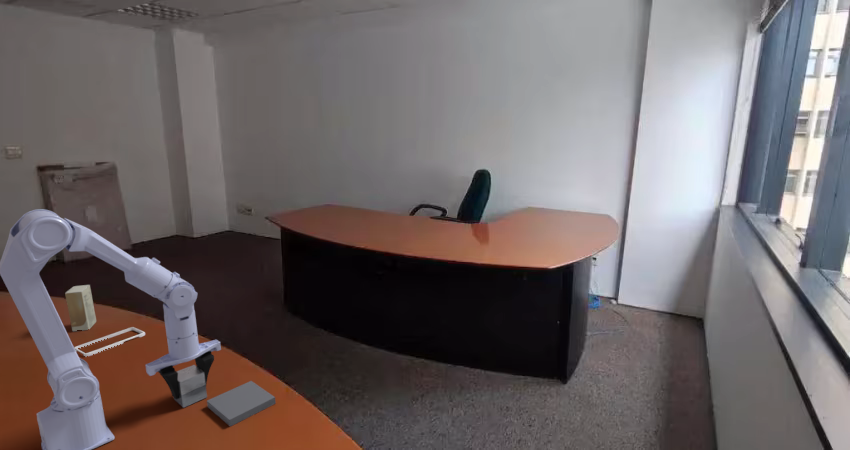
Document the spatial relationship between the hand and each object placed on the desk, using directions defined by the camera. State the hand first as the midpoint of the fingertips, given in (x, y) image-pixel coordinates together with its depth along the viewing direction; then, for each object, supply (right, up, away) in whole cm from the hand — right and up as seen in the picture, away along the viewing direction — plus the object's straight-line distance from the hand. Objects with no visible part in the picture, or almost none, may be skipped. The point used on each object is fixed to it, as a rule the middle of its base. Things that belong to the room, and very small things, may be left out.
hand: (189, 391), depth 98 cm
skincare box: (-51, +5, +37) cm, 63 cm away
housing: (0, -2, 0) cm, 2 cm away
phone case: (-36, +3, +27) cm, 45 cm away
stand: (+12, -2, -2) cm, 13 cm away
